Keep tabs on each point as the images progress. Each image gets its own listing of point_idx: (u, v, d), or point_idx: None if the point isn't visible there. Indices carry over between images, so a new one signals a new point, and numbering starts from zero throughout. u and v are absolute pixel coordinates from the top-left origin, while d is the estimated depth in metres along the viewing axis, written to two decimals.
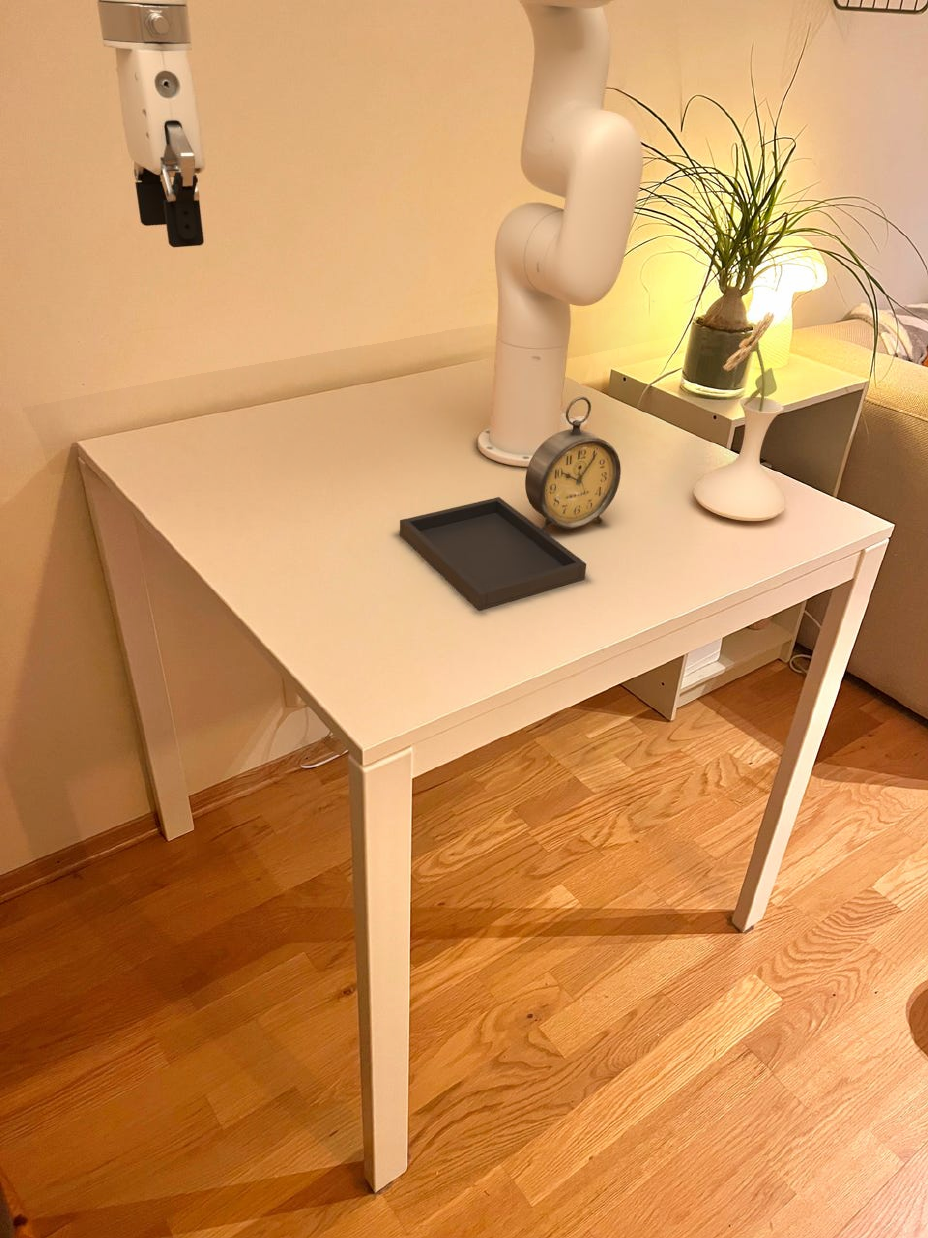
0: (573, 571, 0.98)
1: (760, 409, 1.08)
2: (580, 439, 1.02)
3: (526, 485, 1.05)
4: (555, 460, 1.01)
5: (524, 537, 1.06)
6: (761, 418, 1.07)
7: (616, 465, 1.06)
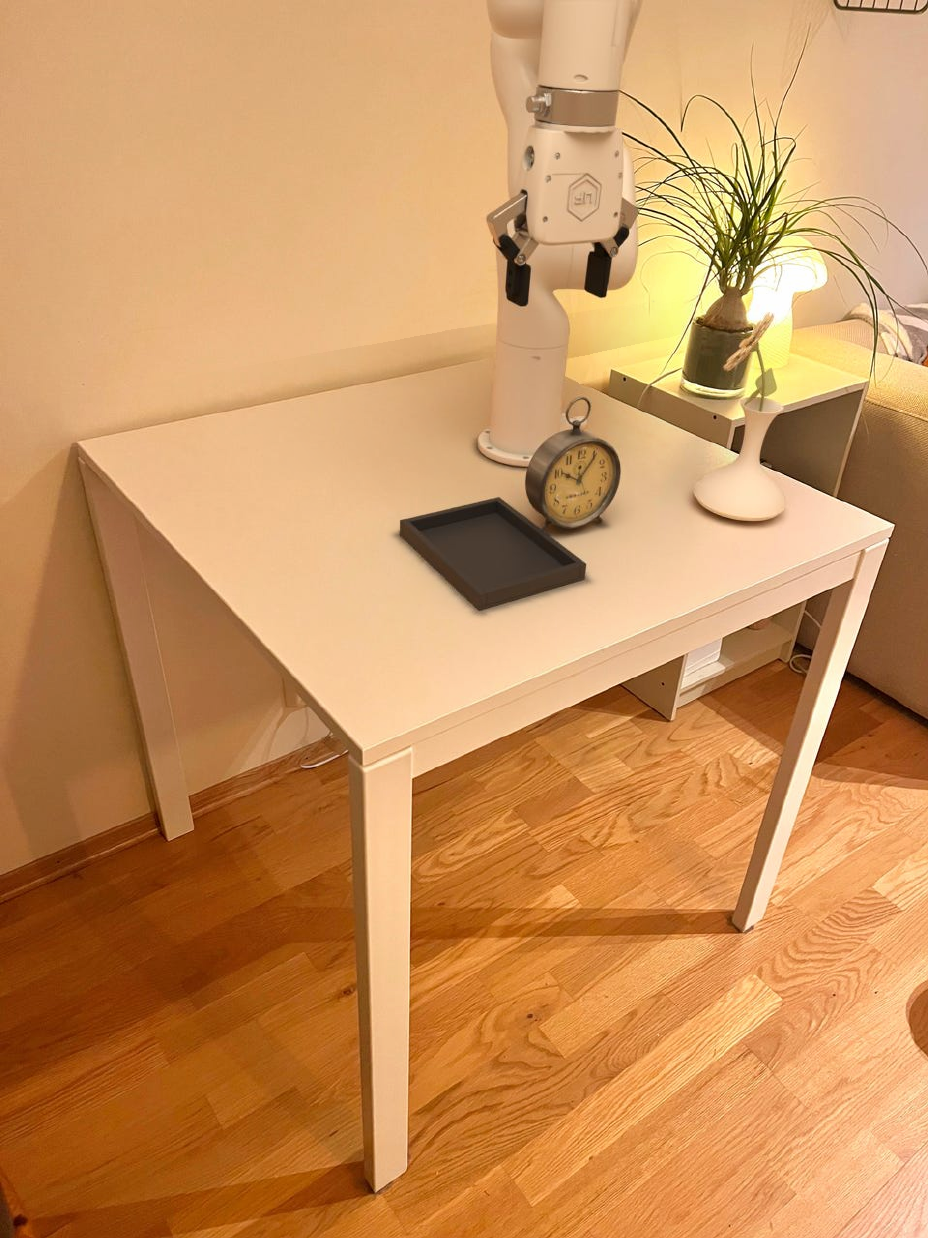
0: (573, 571, 0.98)
1: (760, 409, 1.08)
2: (580, 439, 1.02)
3: (526, 485, 1.05)
4: (555, 460, 1.01)
5: (524, 537, 1.06)
6: (761, 418, 1.07)
7: (616, 465, 1.06)
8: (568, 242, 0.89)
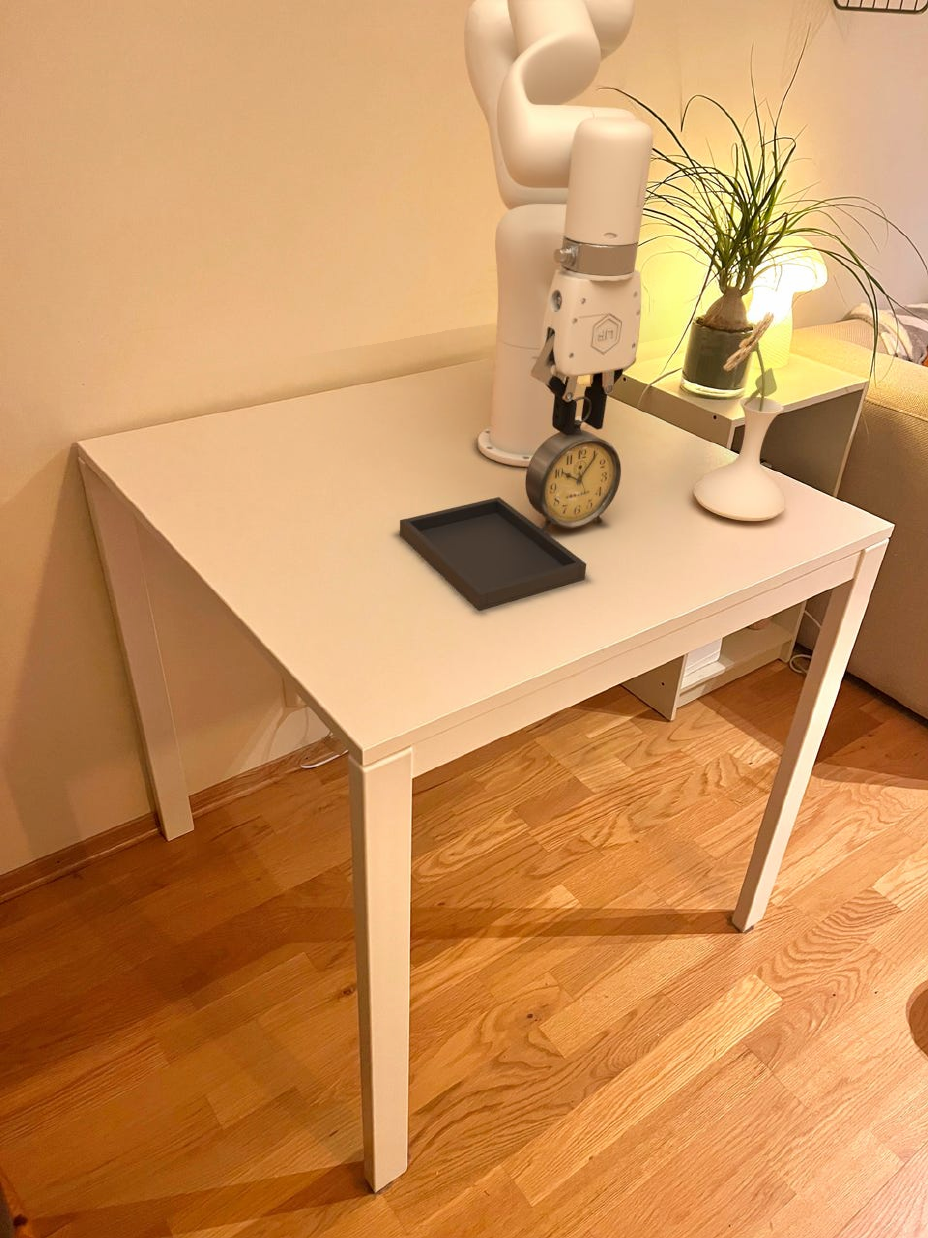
0: (573, 571, 0.98)
1: (760, 409, 1.08)
2: (580, 438, 1.02)
3: (526, 485, 1.05)
4: (555, 460, 1.01)
5: (524, 537, 1.06)
6: (761, 418, 1.07)
7: (616, 465, 1.06)
8: (591, 373, 0.96)
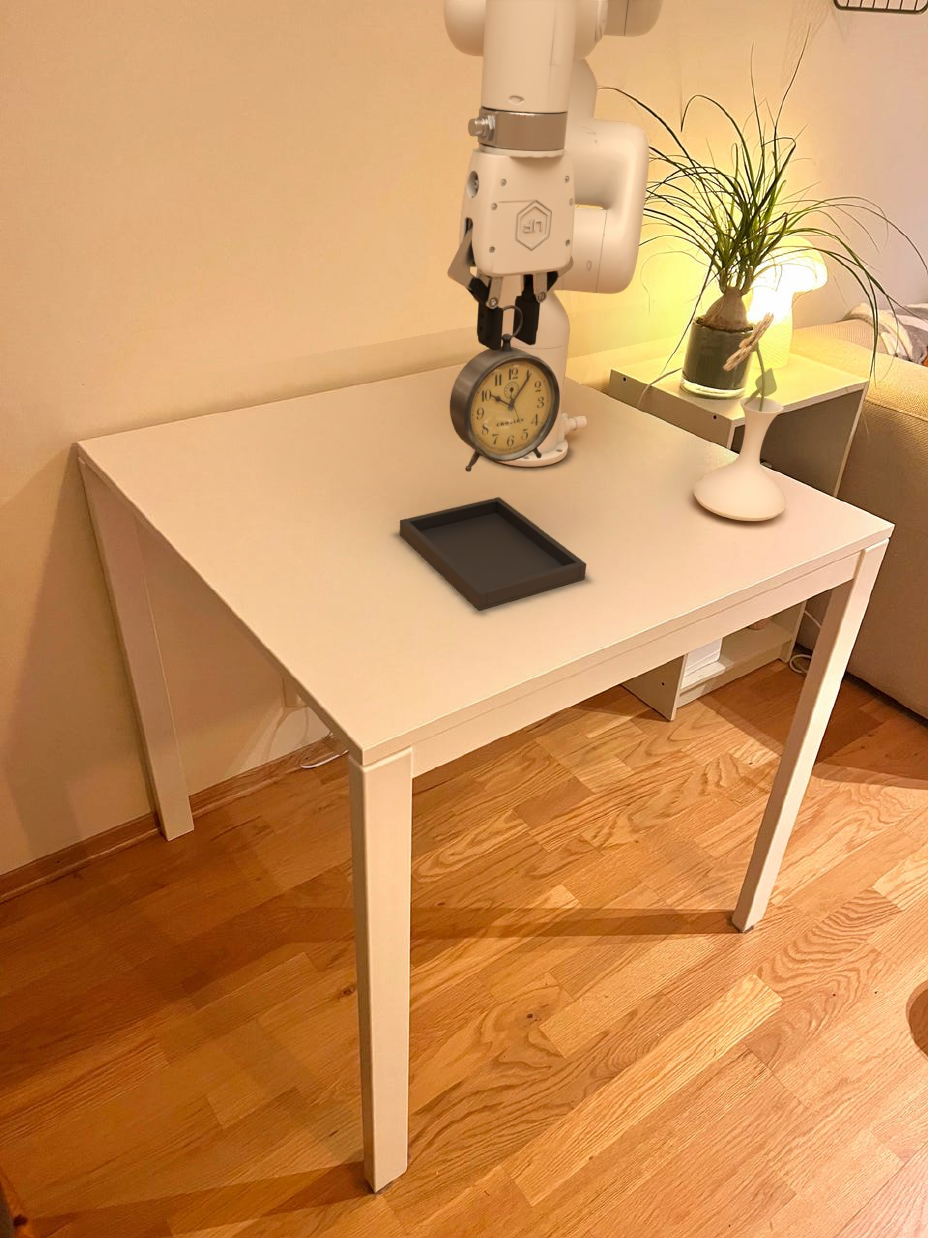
0: (573, 571, 0.98)
1: (760, 409, 1.08)
2: (510, 355, 0.88)
3: (451, 410, 0.92)
4: (481, 378, 0.88)
5: (524, 537, 1.06)
6: (761, 418, 1.07)
7: (554, 388, 0.92)
8: (518, 273, 0.83)
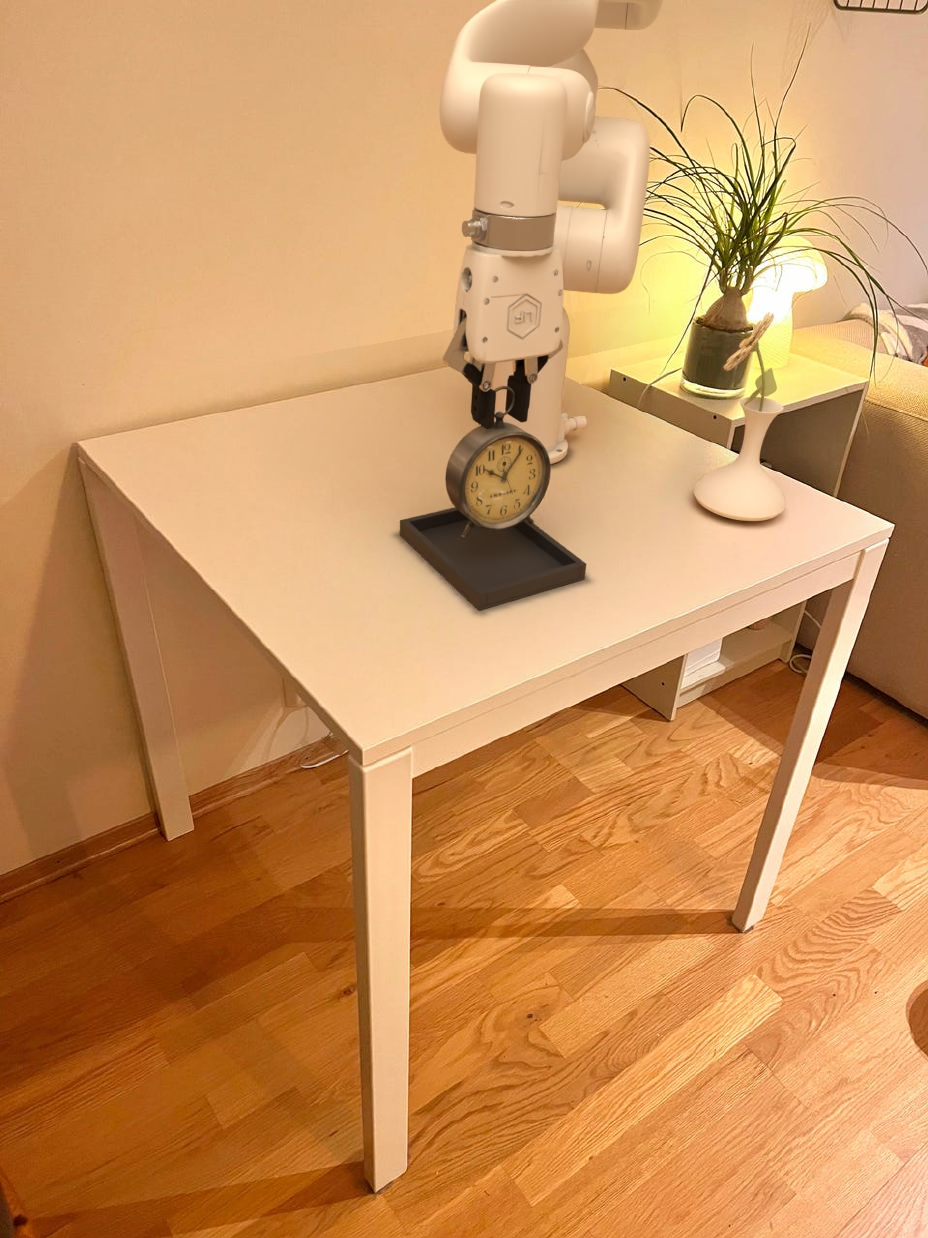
0: (573, 571, 0.98)
1: (760, 409, 1.08)
2: (502, 432, 0.93)
3: (446, 483, 0.96)
4: (475, 455, 0.92)
5: (524, 537, 1.06)
6: (761, 418, 1.07)
7: (545, 461, 0.97)
8: (509, 359, 0.87)
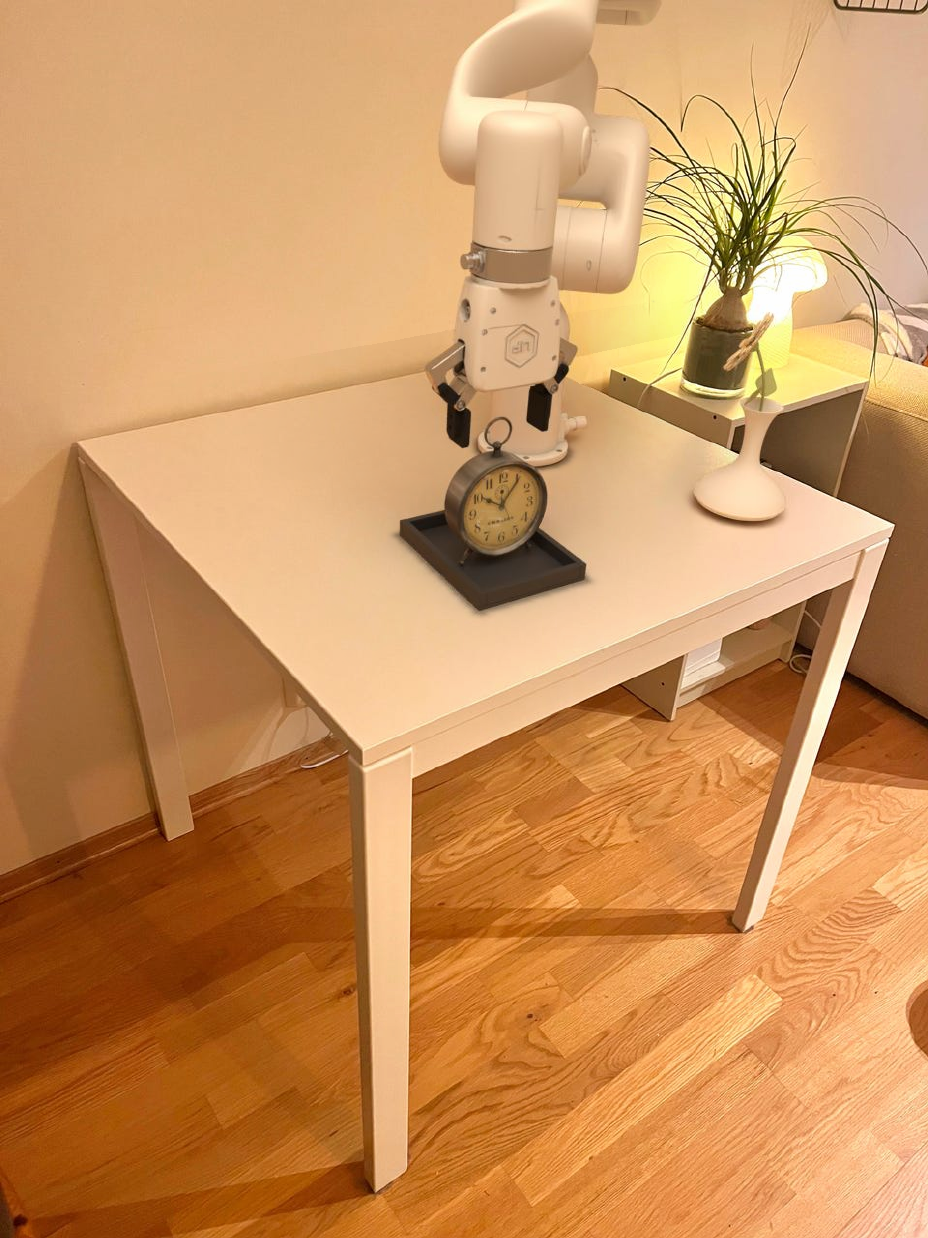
0: (573, 571, 0.98)
1: (760, 409, 1.08)
2: (500, 462, 0.95)
3: (445, 510, 0.98)
4: (473, 485, 0.94)
5: None
6: (761, 418, 1.07)
7: (542, 489, 0.99)
8: (507, 388, 0.89)
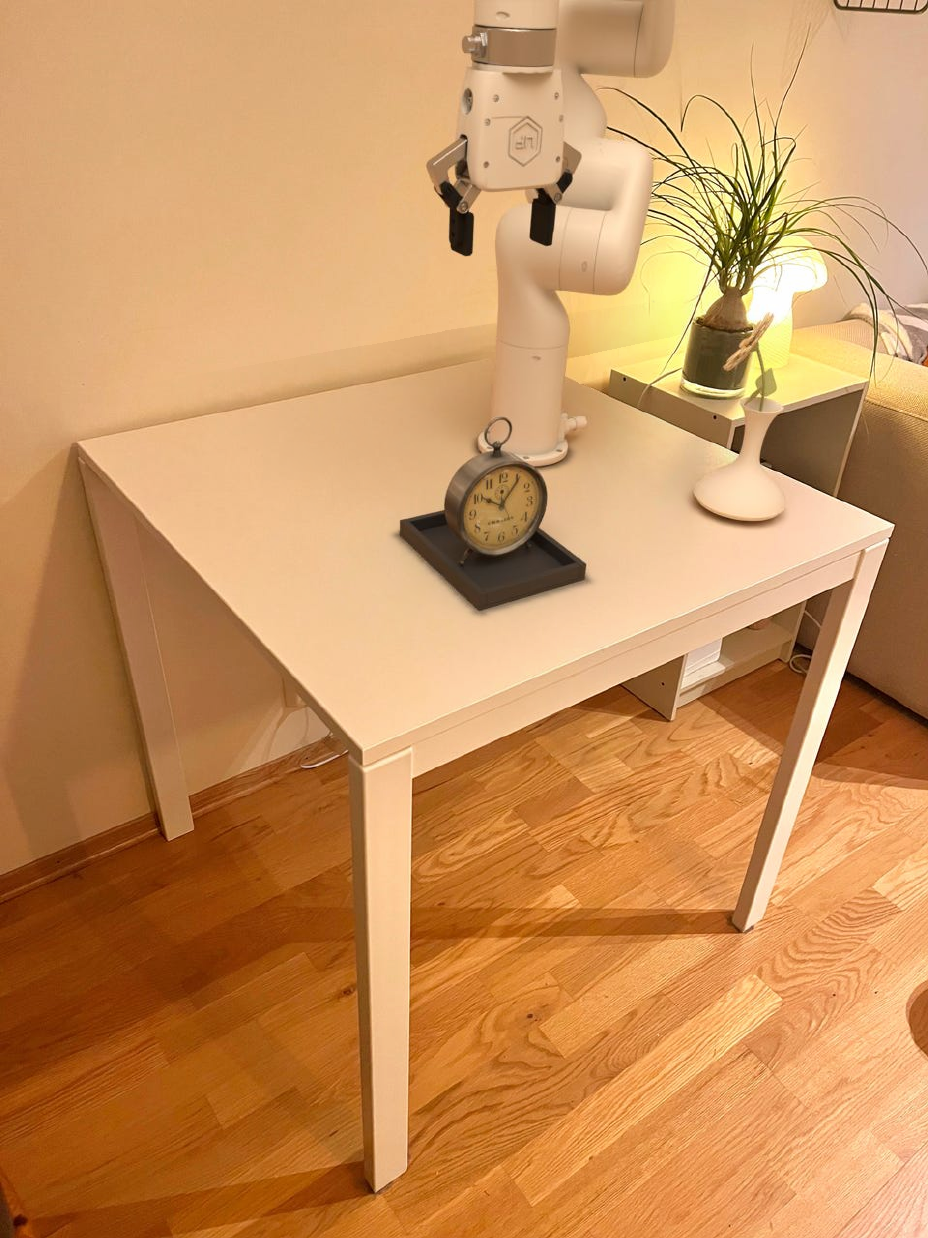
0: (573, 571, 0.98)
1: (760, 409, 1.08)
2: (500, 462, 0.95)
3: (445, 510, 0.98)
4: (473, 485, 0.94)
5: None
6: (761, 418, 1.07)
7: (542, 489, 0.99)
8: (511, 188, 0.87)
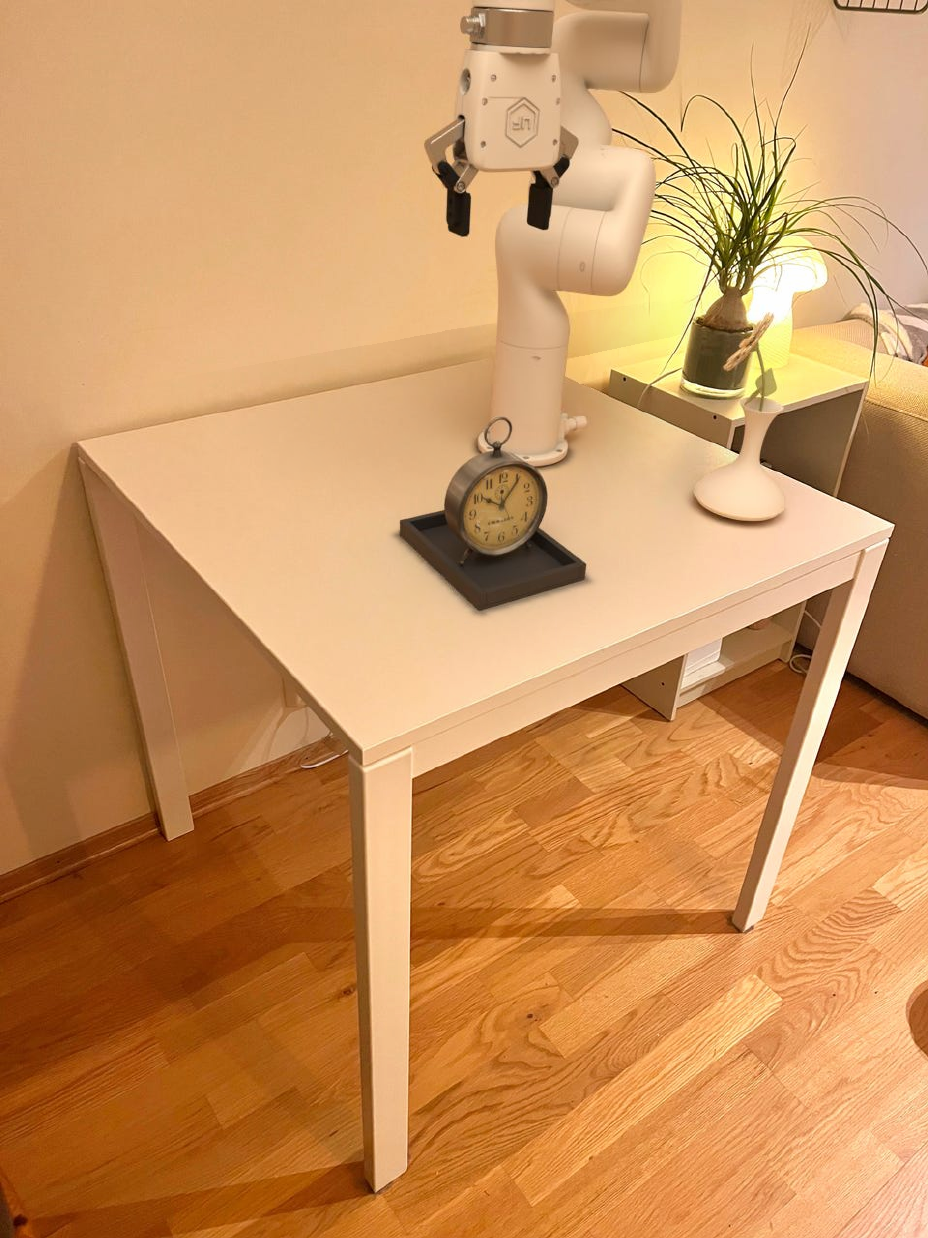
0: (573, 571, 0.98)
1: (760, 409, 1.08)
2: (500, 462, 0.95)
3: (445, 510, 0.98)
4: (473, 485, 0.94)
5: None
6: (761, 418, 1.07)
7: (542, 489, 0.99)
8: (507, 169, 0.88)
